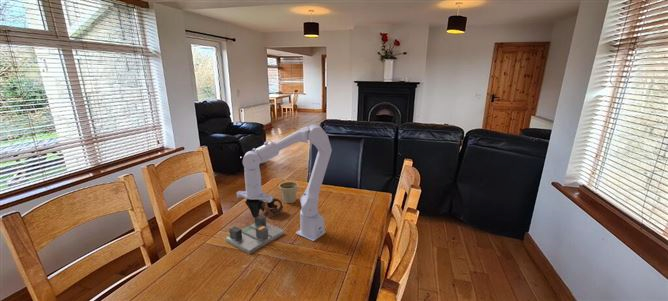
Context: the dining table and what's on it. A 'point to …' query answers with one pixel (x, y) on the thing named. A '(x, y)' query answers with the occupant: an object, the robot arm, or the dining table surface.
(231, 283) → the dining table surface
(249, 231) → the panel
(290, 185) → the flower pot
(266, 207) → the pottery mug
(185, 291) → the dining table surface
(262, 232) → the breaker
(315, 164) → the robot arm
